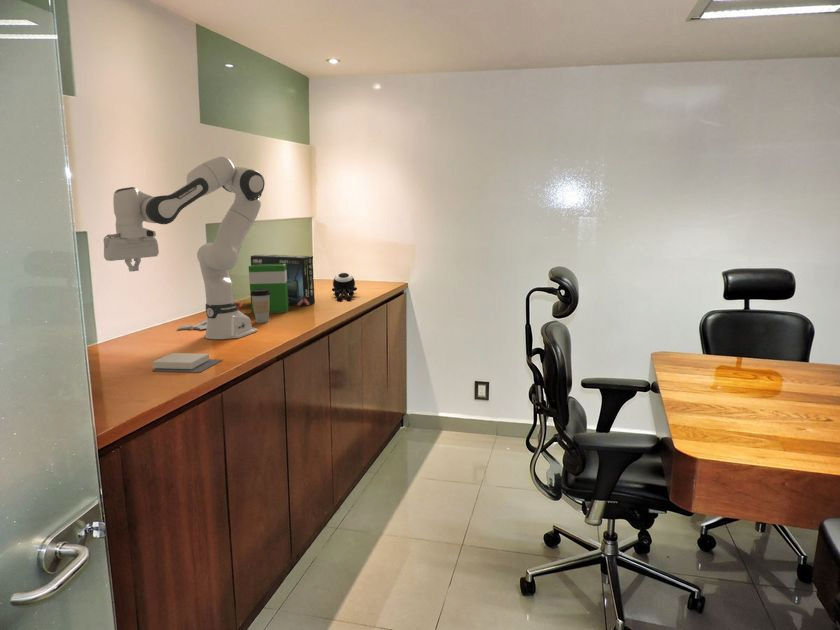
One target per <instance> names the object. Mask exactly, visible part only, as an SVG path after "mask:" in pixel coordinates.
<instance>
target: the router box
mask: <svg viewBox="0 0 840 630" xmlns="http://www.w3.org/2000/svg"><path fill="white" fill-rule="evenodd" d="M313 258H314V255H293V254H292V255H290V254H287V255H286V254H266V253H265V254H254V255H250V266H251V265H264V264H286V270H287V288H288V305H289V306H295V307H296V306H297V307H307V306H310V305H312V304H315V303H316V299H315V281H314V265H313V264H314V261H313Z"/></svg>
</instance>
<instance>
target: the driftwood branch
mask: <svg viewBox="0 0 840 630" xmlns="http://www.w3.org/2000/svg"><path fill="white" fill-rule="evenodd" d="M206 327H207V319H205V320H202V321H200V322H198V323H197V324H192V325H190V324H187V325H182V326H178V328H177V330H178V331H179V330H181V331H182V330H189V331H194V330H199V331H200V330H201V331H202V330H206Z"/></svg>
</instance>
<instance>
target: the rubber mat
mask: <svg viewBox="0 0 840 630" xmlns="http://www.w3.org/2000/svg"><path fill="white" fill-rule="evenodd" d="M221 362H223V359H215V358H214V359H213V358H211V359H210V358H209V360H208V361H207V362H205V363H203V364H201V365H199V366H197V367H195V368H193V369H156V368H154V369H153V370H152V372H158V373H159V372H161V373H162V372H163V373H187V374H188V373H189V374H190V373H192V374H193V373H194V374H200V373H203V372H204V371H206V370H208V369H210V368H212V367H213V366H215V365H217V364H218V363H221Z"/></svg>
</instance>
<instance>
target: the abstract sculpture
mask: <svg viewBox="0 0 840 630" xmlns="http://www.w3.org/2000/svg"><path fill="white" fill-rule="evenodd" d="M332 286H333V287H332V288H331V291H332V292H334V293H333V294H334V296H335V297H337V298H336V300H337V302H342V301H343V295H344V296H346V297H345V300H346V301H347V302H351V301H352V297H353V296H354V295H355V291H357V290H358V288H357V286H356V281H355V278H354V276H352V275H351V274H350V273H346V272H341V273H338V274H337V275H335V277H334V278H333V280H332Z"/></svg>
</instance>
